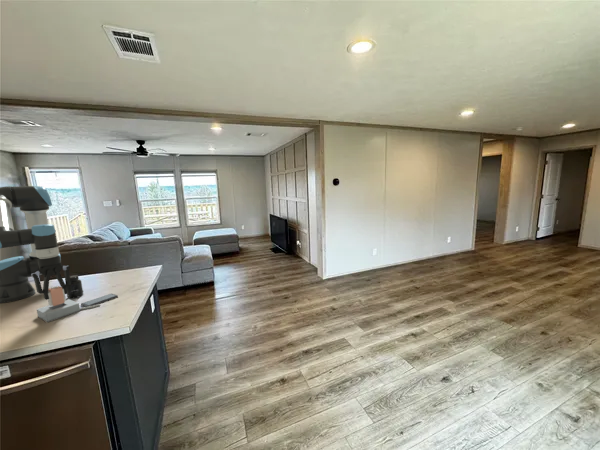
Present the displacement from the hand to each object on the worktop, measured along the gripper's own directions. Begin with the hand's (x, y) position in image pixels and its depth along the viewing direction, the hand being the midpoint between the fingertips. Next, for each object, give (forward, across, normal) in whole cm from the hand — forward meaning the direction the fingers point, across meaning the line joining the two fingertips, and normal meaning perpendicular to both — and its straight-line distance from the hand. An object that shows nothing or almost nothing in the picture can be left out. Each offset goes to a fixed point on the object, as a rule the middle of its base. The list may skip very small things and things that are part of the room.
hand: (57, 302), depth 119 cm
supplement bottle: (+6, +13, +20) cm, 25 cm away
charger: (0, 0, 0) cm, 0 cm away
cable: (+6, +10, -7) cm, 13 cm away
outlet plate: (+6, 0, 0) cm, 6 cm away
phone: (+6, +16, -2) cm, 17 cm away
